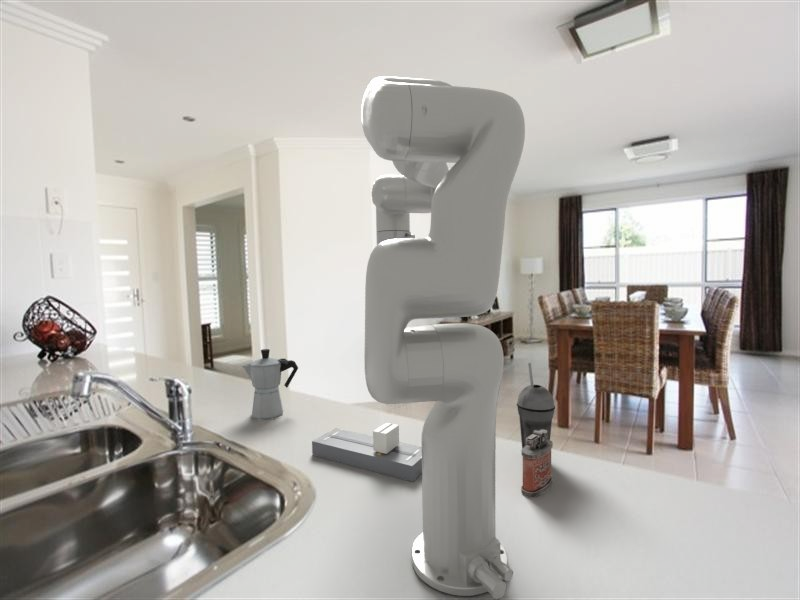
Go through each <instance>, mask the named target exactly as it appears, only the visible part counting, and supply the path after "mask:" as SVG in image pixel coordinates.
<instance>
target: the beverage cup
mask: <svg viewBox="0 0 800 600" xmlns="http://www.w3.org/2000/svg"><path fill="white" fill-rule="evenodd" d="M527 365H528V373H529V381H530V382H529V383H530V385H527V386H525V387H524V388H523V389H521V391H520V392H519V395H518V398H517V402H516V406H517V412H518V413H517V414H518V416H519V417H518V418H519V429H520V439H521V450H522V449H523V448H524V447H525V446H526V438H527V437H529V436H530V435H532V434H533V431H534V430H537V431H540V430H542V429H543V430H547V439H548V440H551V434H552V424H553V419H554V414H555V409H556V406H555V400H554V397H553V395H552V393H551V392H550V391H549V390H548V389H547V388H546V387H544V386H543V385H539V384H534V380H533V371H532V370H533V369H532V363H531V362H528V364H527Z"/></svg>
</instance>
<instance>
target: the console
mask: <svg viewBox="0 0 800 600" xmlns="http://www.w3.org/2000/svg"><path fill="white" fill-rule="evenodd" d="M311 450H312V451H311V453H312V456H315V457H319V458H321V459H322V458H323V459H326V460H330V461H334V462H337V463H342V464H343V465H345V464H346V465H348V466H352V467H356V468H360V469H364V470H367V471H371V472H375V473H378V474H381V475H385V476H389V477H393V478H396V479H402V480H404V481H408V482H414V481H416V479H417V478H419V476H420V475H422V446H418V445H413V444H409V443H405V442H400V441H399V445H398V446H396V447H395V448H394V449H392V450H391V451H390V452H388V453H387V454H385V453H381V452H376V451H373V435H368V434H363V433H359V432H355V431H349V430H345V429H341V428H334V429H332V430H330V431H328V432H326V433H324V434H323V435H321V436H319V437H317V438H315V439H313V440H311Z"/></svg>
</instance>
